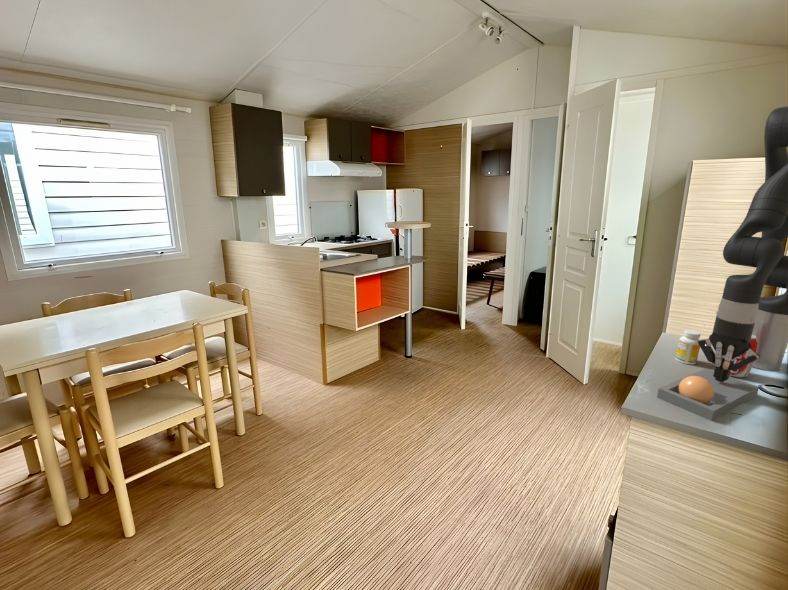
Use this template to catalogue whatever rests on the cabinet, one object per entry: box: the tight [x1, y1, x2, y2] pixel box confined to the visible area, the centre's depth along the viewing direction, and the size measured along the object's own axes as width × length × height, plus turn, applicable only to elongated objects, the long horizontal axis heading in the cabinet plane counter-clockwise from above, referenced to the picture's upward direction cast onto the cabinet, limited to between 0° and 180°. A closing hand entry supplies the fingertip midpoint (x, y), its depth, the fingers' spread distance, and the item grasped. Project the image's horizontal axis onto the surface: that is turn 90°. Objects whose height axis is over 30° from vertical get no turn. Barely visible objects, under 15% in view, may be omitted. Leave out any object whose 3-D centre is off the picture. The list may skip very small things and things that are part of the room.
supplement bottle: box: [674, 329, 701, 365], centre depth 123 cm, size 5×5×10 cm
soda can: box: [729, 334, 758, 379], centre depth 115 cm, size 7×7×12 cm
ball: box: [678, 375, 714, 405], centre depth 99 cm, size 7×7×7 cm
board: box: [656, 368, 760, 421], centre depth 103 cm, size 24×12×2 cm, turn 120°
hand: (719, 380), depth 105 cm, fingers closed
